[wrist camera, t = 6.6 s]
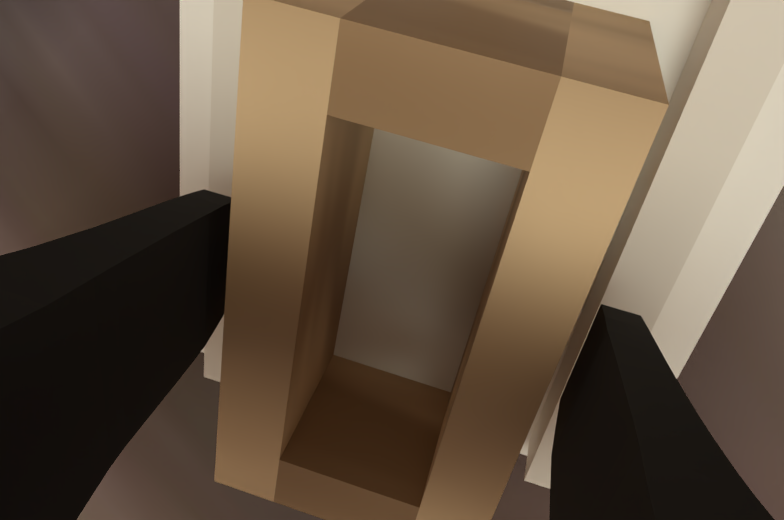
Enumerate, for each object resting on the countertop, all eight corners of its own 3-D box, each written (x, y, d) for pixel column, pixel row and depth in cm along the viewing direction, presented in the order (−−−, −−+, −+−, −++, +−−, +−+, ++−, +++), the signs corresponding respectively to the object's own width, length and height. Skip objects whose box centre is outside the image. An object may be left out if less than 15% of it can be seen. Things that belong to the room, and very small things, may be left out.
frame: (497, 416, 16) (469, 570, 13) (292, 350, 16) (214, 480, 13) (649, 21, 11) (668, 104, 8) (347, -55, 11) (243, -8, 8)
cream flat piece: (617, 453, 17) (619, 527, 15) (199, 321, 18) (154, 376, 16) (904, -89, 10) (969, -71, 8) (210, -236, 12) (136, -248, 10)
